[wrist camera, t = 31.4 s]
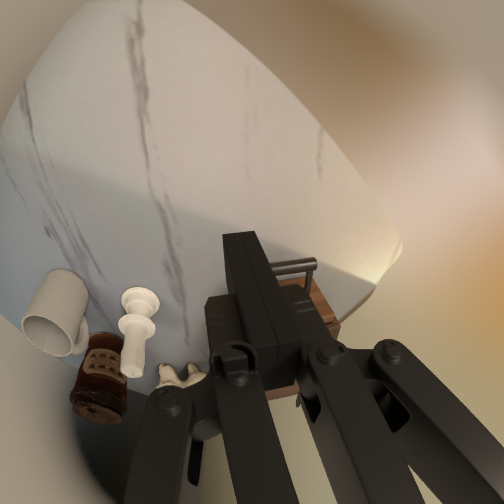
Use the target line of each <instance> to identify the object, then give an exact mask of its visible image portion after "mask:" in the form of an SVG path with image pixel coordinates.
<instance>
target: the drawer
mask: <svg viewBox="0 0 504 504" xmlns="http://www.w3.org/2000/svg"><path fill="white" fill-rule="evenodd" d="M269 264H270V266H271V268H272V270H273V272H274V275H275V276H278V275H285V274H292V273H299V272H306V277H302V278H295V279H288V280H282V281H278V283H279V286H284V285H290V284H296V283H298V284H299V285H300V286H302V287H303V288H304V289H305V290H307V292H308V293H309V295H310V297H311V299H312V302H314V304H315V306H316V309H317V310H318V312H319V313H320V315H321V317H322V319H323V321H324V322H325V323H329V322H333V321H334V317H335V314H334V312H333V310H332V309H331V307H330V305H329V304H328V302H327V301H326V299H325V297H324V296H323V294H322V293H321V291H320V289H319V288H318V286H317V285H316V283H315V281H314V280H313V278H312V276H313V270H316V269H317V261H316V259H315V258H314V257H312V258H304V259H297V260H289V261H281V262H274V263H269Z"/></svg>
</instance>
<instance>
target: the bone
mask: <svg viewBox="0 0 504 504" xmlns="http://www.w3.org/2000/svg"><path fill="white" fill-rule="evenodd" d="M159 370H160V371H159V373H160V383H159V385H158V386H156V387H157V388H159V387H162V386H165V385H175V386H178V387H181V388H185V387H188V386H190V385H192V384H195V383H197V382H199V381H200V380H202V379H203V378H204V377H205V376H206V375H207V374H205V373H204V372H200V371H198V369H197V368H196V366H195V365H193V364H191V363H189V365H188V371H189V377H188V379H187V380H185V381H182V380H180V379H179V378H178V376H177V373H175V369H174V368H172V367H170V366H169V365H166V366H164V364H160V366H159Z"/></svg>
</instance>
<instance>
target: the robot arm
mask: <svg viewBox="0 0 504 504" xmlns="http://www.w3.org/2000/svg"><path fill="white" fill-rule="evenodd" d="M222 236H223V249H224V261H225V272H226V282H227V287H228V291H229V295H222V296H214V297H209V298H208V300H207V302H206V305H205V307H204V308H205V317H206V325H207V334H208V341H209V349H210V357H209V365H210V370H209V372H208V373H207V375H206V376H205V377H204V378H203V379H202V380H200V381H199V382H197V383H195V384H192V385H190V386H188V387H185V388H181V387H178V386H175V385H165V386H162V387H159V388H157V389H156V390H154V391H153V392H152V393H151V394H150V396H149V398H148V400H147V402H146V406H145V410H144V414H143V417H142V421H141V425H140V429H139V433H138V437H137V441H136V445H135V450H134V454H133V458H132V463H131V467H130V473H129V477H128V482H127V486H126V492H125V497H124V502H123V504H199V503H200V494H201V485H202V475H203V467H204V459H205V450H206V442H207V440H208V439H210V438H212V437H214V436H217V435H219V434H221V433H222V435H223V440H224V445H225V450H226V455H227V460H228V465H229V469H230V474H231V478H232V483H233V487H234V491H235V496H236V500H237V504H299V501H298V498H297V495H296V492H295V489H294V486H293V483H292V480H291V476H290V473H289V470H288V467H287V464H286V461H285V457H284V454H283V451H282V448H281V445H280V441H279V438H278V435H277V432H276V428H275V425H274V422H273V418H272V415H271V412H270V408H269V405H268V402H267V398H266V395H265V391H269V390H274V389H279V388H283V387H288V386H292V385H294V382H295V378H296V381H297V383H298V386H299V392H298V396H297V400H296V407H299V406H300V403H301V406H302V409H303V411H304V414H305V417H306V419H307V422H308V425H309V428H310V430H311V433H312V436H313V439H314V441H315V444H316V447H317V449H318V452H319V455H320V458H321V460H322V463H323V466H324V468H325V471H326V474H327V477H328V479H329V482H330V484H331V487H332V490H333V492H334V495H335V498H336V501H337V503H338V504H425V502H424V499H423V497H422V495H421V493H420V491H419V488H418V486H417V484H416V482H415V479H414V477H413V475H412V473H411V471H410V469H409V467H408V465H409V466H410V467H411V468H412V470H413V471H414V472H415V473H416V474H417V475H418V476H419V478H420V479H421V480H422V481H423V482H424V483H425V484H426V486H427V487H428V488H429V489H430V490H431V491H432V492H433V493H434V495H435V496H436V497H437V498H438V499H439V500H440V501H441V502H442V504H504V448H503V446H502V445H501V444H500V443H499V442H498V441H497V440H496V439H495V437H494V436H493V435H492V434H491V433H490V432H489V431H488V430H487V429H486V428H485V427H484V425H483V424H482V423H481V422H480V421H479V420H478V419H477V418H476V417H475V416H474V415H473V414H472V413H471V412H470V411H469V409H467V407H466V406H465V405H464V404H463V403H462V402H461V401H460V400H459V399H458V398H457V397H456V396H455V395H454V394H453V393H452V392H451V391H450V390H449V389H448V388H447V387H446V386H445V385H444V384H443V383H442V382H441V381H440V380H439V379H438V378H437V377H436V376H435V375H434V374H433V373H432V372H431V371H430V370H429V369H428V368H427V367H426V366H425V365H424V364H423V363H422V362H421V361H420V360H419V359H418V358H417V357H416V356H415V355H414V354H412V352H411V351H410V350H408V349H407V348H406V347H405V346H404V345H403V344H402V343H400V342H398V341H396V340H392V339H385V340H382V341H379V342H378V343H377V344H376V345H375V347H374V349H350V348H346V346H345V345H344V344H342V343H341V342H339V341H337V340H334V338H333V337H332V335H331V334H330V332H329V330H328V328H327V326H326V324H325V322H324V321H323V319H322V317H321V315H320V313H319V312H318V310H317V309H316V306H315V304H314V302H312V299H311V297H310V295H309V293H308V292H307V290H305V289H304V288H303V287H302V286H300V285H299V284H298V283H296V284H290V285H284V286H279V283H278V281H277V279H276V277H275V275H274V272H273V270H272V268H271V266H270V264H269V262H268V259H267V257H266V255H265V253H264V251H263V248H262V246H261V244H260V242H259V240H258V238H257V236H256V233H255V231H247V232H239V233H230V234H222ZM407 464H408V465H407Z"/></svg>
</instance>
